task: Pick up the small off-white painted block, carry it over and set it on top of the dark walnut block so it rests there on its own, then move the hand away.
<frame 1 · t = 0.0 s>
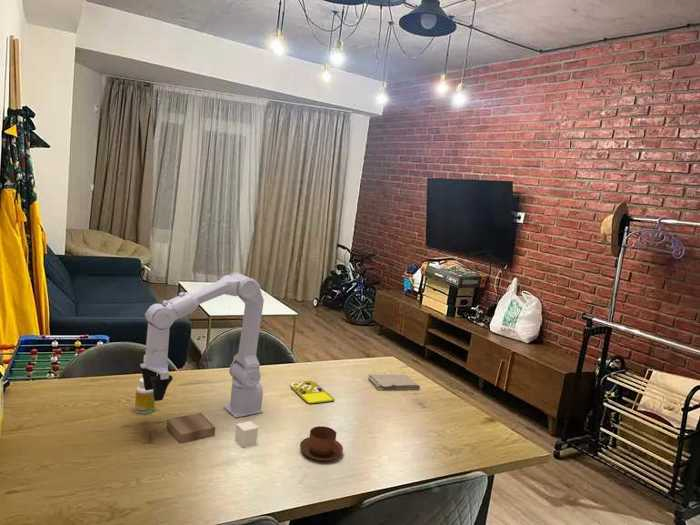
hand: (153, 394, 144), 10 cm above the table, tool pointing down, fingers open, 7 cm apart
cup and saucer: (320, 453, 144), on the table
game console: (310, 394, 184), on the table
walnut block: (190, 433, 146), on the table
supplement bottle: (144, 410, 155), on the table
white block: (245, 442, 144), on the table
washcloth: (392, 386, 202), on the table
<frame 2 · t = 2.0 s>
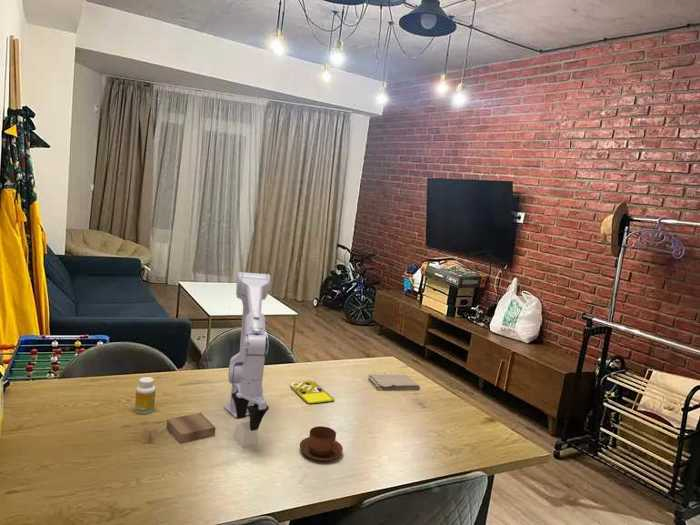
hand: (247, 423, 143), 6 cm above the table, tool pointing down, fingers open, 7 cm apart
nothing on the table moved.
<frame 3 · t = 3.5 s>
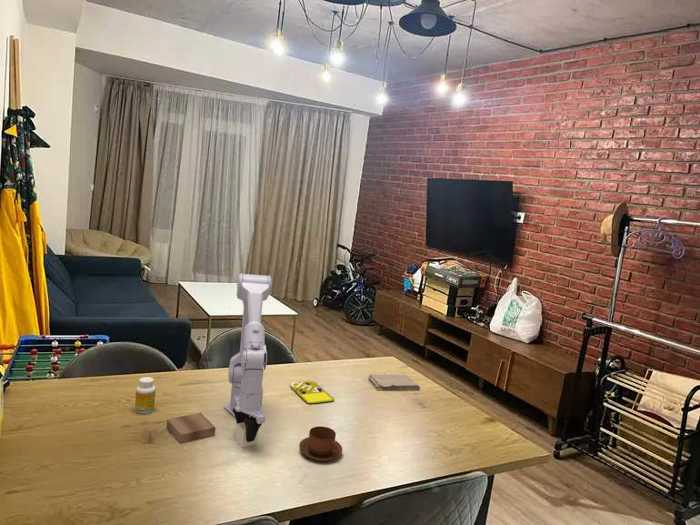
hand: (246, 436, 144), 2 cm above the table, tool pointing down, fingers closed on white block, 4 cm apart
white block: (245, 442, 144), on the table, touching gripper
everything else where it was.
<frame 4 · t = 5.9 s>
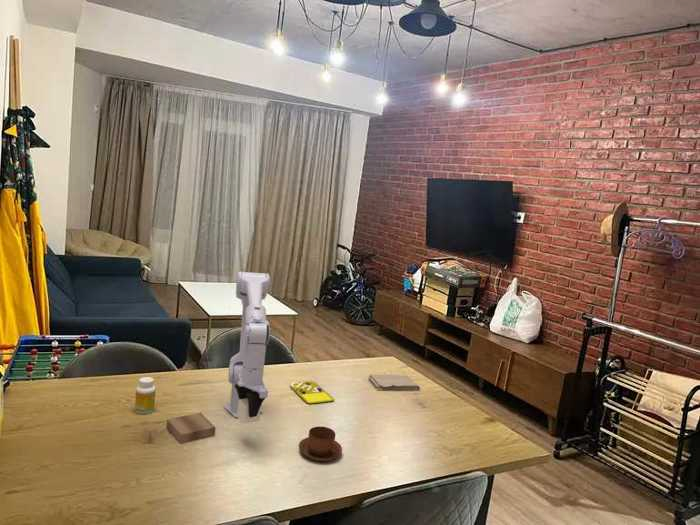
hand: (248, 412, 143), 9 cm above the table, tool pointing down, fingers closed on white block, 4 cm apart
white block: (247, 418, 143), point 7 cm above the table, touching gripper
everything else where it was.
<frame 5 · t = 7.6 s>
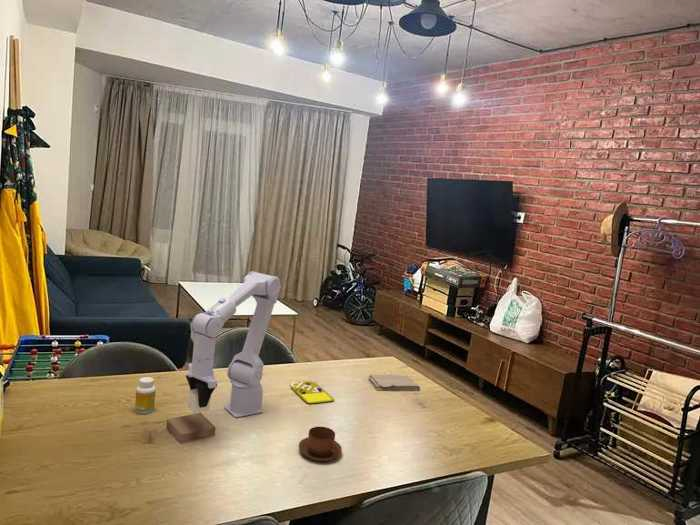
hand: (199, 403, 145), 9 cm above the table, tool pointing down, fingers closed on white block, 4 cm apart
white block: (198, 408, 145), point 7 cm above the table, touching gripper
everything else where it was.
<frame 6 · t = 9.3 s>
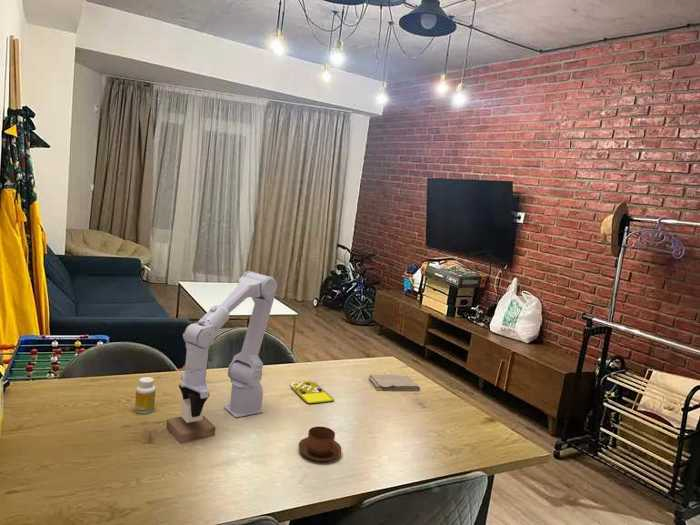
hand: (192, 412, 146), 6 cm above the table, tool pointing down, fingers closed on white block, 4 cm apart
white block: (191, 418, 146), point 4 cm above the table, touching gripper
everything else where it was.
when the fingers open (6 cm above the table, at t = 9.9 s): white block drops 2 cm, resting on walnut block.
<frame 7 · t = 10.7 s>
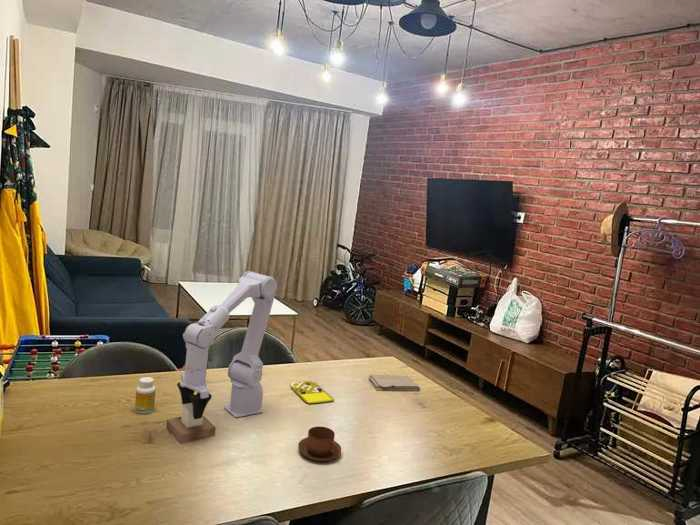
hand: (192, 412, 146), 6 cm above the table, tool pointing down, fingers open, 7 cm apart
walnut block: (190, 433, 146), on the table, touching white block
white block: (191, 422, 146), point 2 cm above the table, touching walnut block
everything else where it was.
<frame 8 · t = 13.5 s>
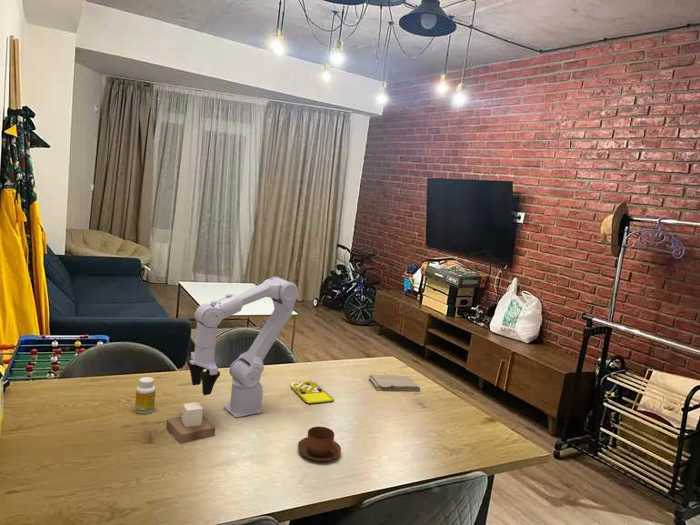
hand: (201, 389, 153), 9 cm above the table, tool pointing down, fingers open, 7 cm apart
walnut block: (190, 433, 146), on the table
white block: (191, 422, 146), point 2 cm above the table
everything else where it was.
at the end: white block 0.3 cm off-centre on the walnut block, point 3.0 cm above the walnut block's base; white block tilted 1°; white block touching walnut block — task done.
